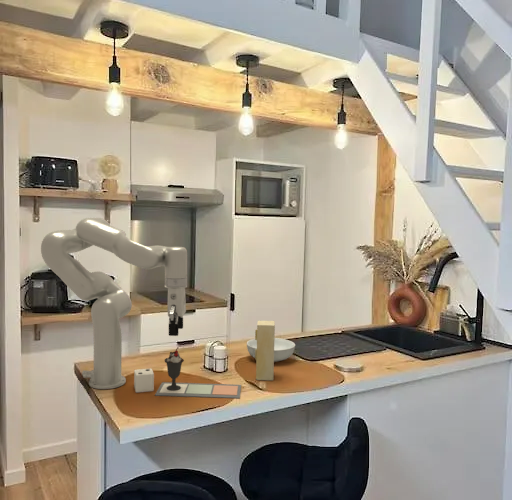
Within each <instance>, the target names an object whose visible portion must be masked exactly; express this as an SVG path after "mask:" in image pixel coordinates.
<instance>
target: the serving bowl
mask: <svg viewBox="0 0 512 500" xmlns="http://www.w3.org/2000/svg"><path fill="white" fill-rule="evenodd" d="M295 347H296V344H295V342H293V341H291V340H288V339H284V338H278V337H275V338H274V363H275V362H280V361H285V360H287V359H289V358H290V357H291V356H292V355H293V354H294V352H295ZM246 348H247V349H246V350H247V351H248V353H249V354H250V356H251V357H252V358H254V359H255V350H257V340H255V338H252V339H249V340H247V342H246Z"/></svg>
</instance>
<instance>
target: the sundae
mask: <svg viewBox="0 0 512 500" xmlns="http://www.w3.org/2000/svg"><path fill="white" fill-rule="evenodd" d="M178 349H179V347H176V349H175V350H174V351H170V352H169V355H168V357H167V358H164V363H165V364H166V368H167V375H168V377H169V378H170V379H171V382H172V385H170V386H168V387H167V389H168V390H170V391H176V390H179V389H181V387H180V386H178V385H176V383H177V381H176V379H177V378H179V376H180V375H181V369H182V365H183V362H184V361H185V360H184V358H182V357H181V355H180V353H179V351H178Z"/></svg>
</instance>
